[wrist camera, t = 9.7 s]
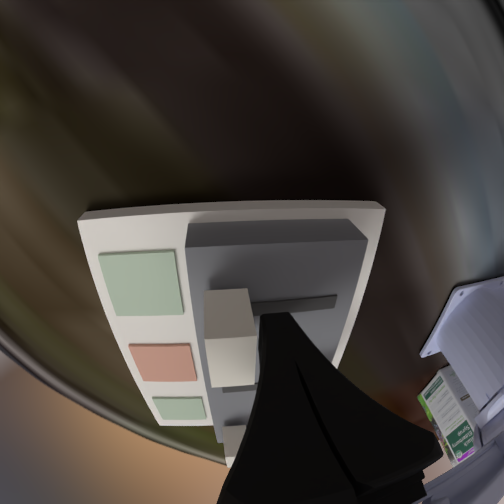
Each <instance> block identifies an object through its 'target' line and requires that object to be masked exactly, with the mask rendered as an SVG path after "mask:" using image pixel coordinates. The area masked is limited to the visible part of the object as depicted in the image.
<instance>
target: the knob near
mask: <svg viewBox="0 0 504 504" xmlns="http://www.w3.org/2000/svg"><path fill="white" fill-rule="evenodd" d="M204 340H205V348H206V354H207V361H208V368H209V374H210V380H211V386H212V388H215V387H231V386H243V385H254V383H255V365H256V347H257V333H256V328H255V323H254V318H253V313H252V308H251V304H250V299H249V294H248V289H247V288H242V289H225V290H206V291H204Z"/></svg>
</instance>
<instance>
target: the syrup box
mask: <svg viewBox="0 0 504 504" xmlns="http://www.w3.org/2000/svg"><path fill="white" fill-rule="evenodd" d="M418 400H419V401H420V403H421V405H422V407H423V409H424V410H425V412H426V414H427V416H428V418H429V420H430V422H431V423H432V425H433V427H434V429H435V431H436V433H437V435H438V437H439V439H440V441H441V443H442V445H443V447H444V449H445V451H446V453H447V455H448V457H449V459H450V462H451V464H452V466H453V467H455V466H457V465H458V464H460V463H461V462H463V461H464V460H466V459H467V458H468V457H470V456H471V455H473V454H474V453H475V451H474V447H473V436H474V429H475V426H476V424H477V422H476V421H475V419H474V418H475V417H476V416H477V415H478V414H479V413H480V412H479V410H478V409H477V407H476V405H475V404H474V402H473V400H472V398H471V397H470V395H469V393H468V392H467V390H466V389H465V387H464V385H463V384H462V382H461V381H460V379H459V377H458V376H457V374H456V373H455V371H454V370H453V368H452V366H451V365H450V366H447V367H445V368H442V369H439V371H438V372H437V374H436V375H435V377H434V378H433V379H432V380H431V381H430V383H429V384H428V385H427V386H426V387H425V388H424V390H423V391H422V392H421V393H420V394H419V395H418Z"/></svg>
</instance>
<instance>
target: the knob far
mask: <svg viewBox="0 0 504 504" xmlns="http://www.w3.org/2000/svg"><path fill="white" fill-rule="evenodd" d="M245 430H246V425H239V426H225V427H222V431H223V441H224V451H225V459H226V463H227V467H231V466H232V464H233V462H234V459H235V457H236V455H237V452H238V449H239V447H240V444H241V441H242V439H243V436H244V433H245Z"/></svg>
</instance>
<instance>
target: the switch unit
mask: <svg viewBox="0 0 504 504" xmlns="http://www.w3.org/2000/svg"><path fill="white" fill-rule="evenodd" d="M385 210H386V209H385V208H384V207H383V206H381V205H380V204H379V203H377V202H376V201H347V200H265V201H229V202H205V203H186V204H169V205H155V206H141V207H129V208H118V209H107V210H97V211H87V212H85V213H84V214H83V215H82V216H81V217H80V218H79V219H78V220H77V222H78V226H79V230H80V234H81V238H82V242H83V246H84V249H85V253H86V256H87V260H88V263H89V267H90V270H91V273H92V276H93V279H94V282H95V285H96V288H97V291H98V294H99V297H100V300H101V303H102V305H103V308H104V311H105V313H106V316H107V319H108V321H109V324H110V326H111V329H112V331H113V334H114V336H115V338H116V341H117V343H118V345H119V348H120V350H121V352H122V354H123V357H124V359H125V361H126V363H127V365H128V367H129V369H130V371H131V373H132V376H133V378H134V380H135V382H136V384H137V385H138V387H139V389H140V391H141V393H142V395H143V397H144V399H145V401H146V402H147V404H148V406H149V408H150V410H151V411H152V413H153V415H154V417H155V418H156V420H157V422H158V423H159V425H161V426H203V425H214V429H215V433H216V438H217V442H218V443H224V441H223V431H222V427H225V426H239V425H246V427H247V424H248V421H249V417H250V414H251V410H252V407H253V403H254V399H255V395H256V390H257V386H258V380H259V374H260V366H259V353H258V339H259V322H260V316H261V315H262V314H267V313H278V312H289V313H290V314H291V315H292V316H293V318H294V319H295V320H296V322H297V323H298V324H299V326H300V327H301V328H302V330H303V331H304V332H305V333H306V335H307V336H308V337H309V338H310V340H311V341H312V342H313V343H314V344H315V346H316V347H317V348H318V349H319V350H320V351H321V352H322V354H323V355H324V356H325V357H326V358H327V359H328V360H329V361H330V362H331V363H332V364H333V365H334V366H335V367H336V368H337V367H338V365H339V362H340V360H341V357H342V355H343V352H344V349H345V347H346V344H347V341H348V339H349V336H350V333H351V330H352V328H353V325H354V322H355V319H356V316H357V313H358V310H359V307H360V304H361V301H362V298H363V294H364V291H365V288H366V285H367V281H368V278H369V274H370V271H371V267H372V264H373V260H374V256H375V253H376V249H377V245H378V241H379V237H380V233H381V228H382V224H383V220H384V215H385ZM242 288H247V289H248V294H249V299H250V304H251V308H252V313H253V318H254V323H255V328H256V333H257V347H256V365H255V383H254V385H243V386H231V387H215V388H212V386H211V380H210V374H209V368H208V361H207V354H206V348H205V340H204V291H206V290H225V289H242Z"/></svg>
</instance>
